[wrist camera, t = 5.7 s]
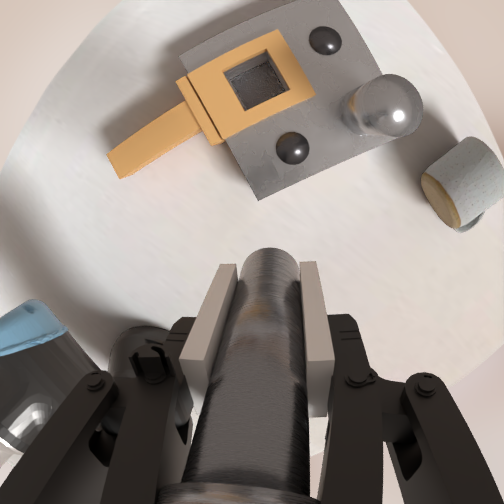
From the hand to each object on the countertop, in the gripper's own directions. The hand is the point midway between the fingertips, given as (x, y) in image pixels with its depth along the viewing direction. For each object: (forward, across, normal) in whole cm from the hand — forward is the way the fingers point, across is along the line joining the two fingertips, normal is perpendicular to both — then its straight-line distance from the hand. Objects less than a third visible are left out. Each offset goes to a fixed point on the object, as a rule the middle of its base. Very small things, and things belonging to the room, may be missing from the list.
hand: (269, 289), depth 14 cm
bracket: (+19, -7, +9) cm, 22 cm away
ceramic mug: (+20, +21, +1) cm, 29 cm away
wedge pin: (+2, 0, 0) cm, 2 cm away
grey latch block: (+19, +2, +11) cm, 22 cm away
